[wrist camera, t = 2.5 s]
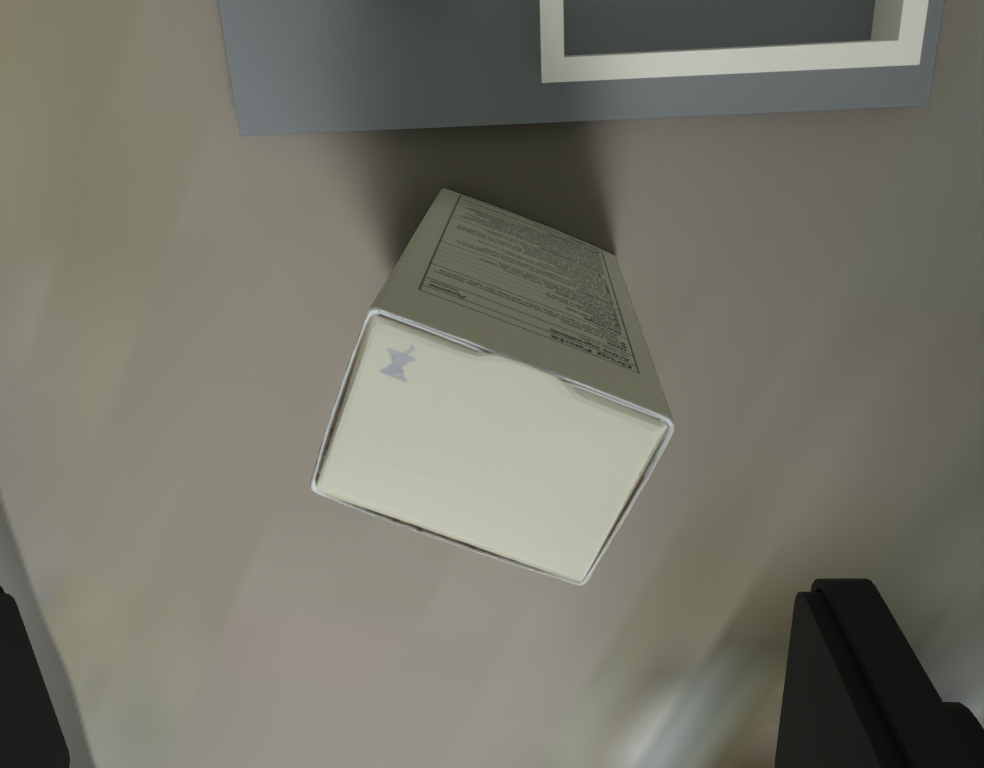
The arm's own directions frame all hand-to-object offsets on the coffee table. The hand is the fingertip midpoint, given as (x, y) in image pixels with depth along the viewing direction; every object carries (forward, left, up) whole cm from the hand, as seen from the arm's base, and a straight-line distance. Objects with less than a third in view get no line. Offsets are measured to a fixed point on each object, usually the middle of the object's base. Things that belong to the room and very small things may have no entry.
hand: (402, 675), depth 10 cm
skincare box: (0, 0, -19) cm, 19 cm away
